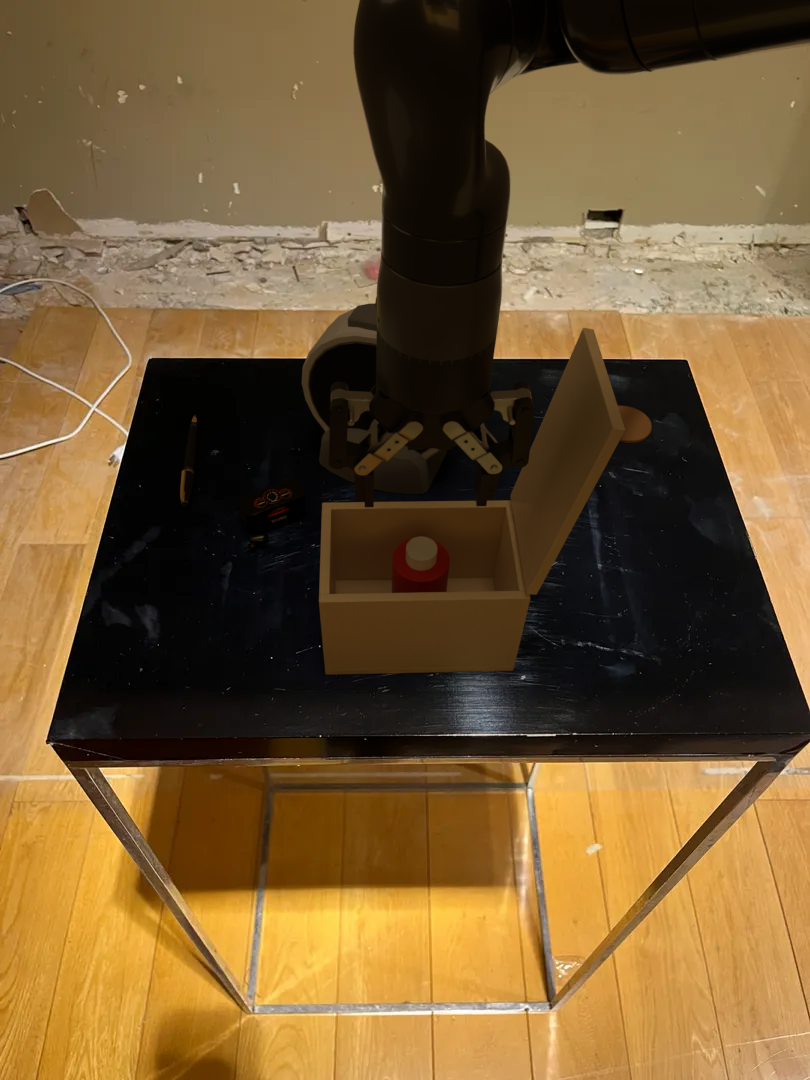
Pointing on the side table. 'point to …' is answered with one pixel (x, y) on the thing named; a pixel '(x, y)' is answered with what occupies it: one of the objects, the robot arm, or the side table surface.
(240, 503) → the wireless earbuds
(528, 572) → the breadbox lid
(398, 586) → the sauce bottle
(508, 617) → the box
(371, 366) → the alarm clock
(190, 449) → the fountain pen
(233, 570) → the side table surface
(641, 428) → the coaster
